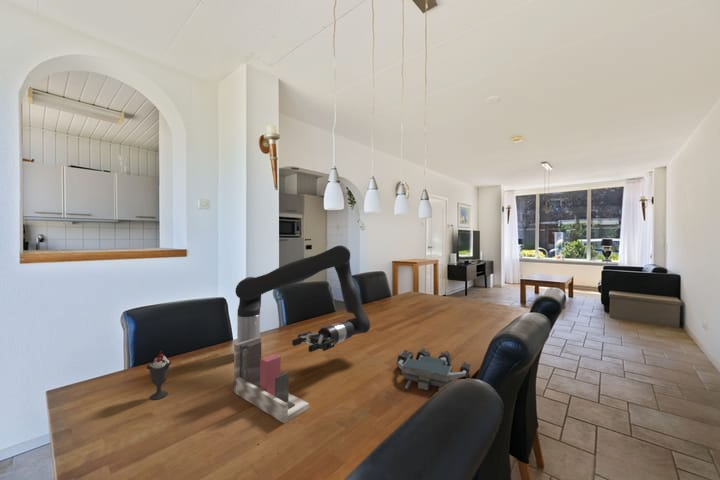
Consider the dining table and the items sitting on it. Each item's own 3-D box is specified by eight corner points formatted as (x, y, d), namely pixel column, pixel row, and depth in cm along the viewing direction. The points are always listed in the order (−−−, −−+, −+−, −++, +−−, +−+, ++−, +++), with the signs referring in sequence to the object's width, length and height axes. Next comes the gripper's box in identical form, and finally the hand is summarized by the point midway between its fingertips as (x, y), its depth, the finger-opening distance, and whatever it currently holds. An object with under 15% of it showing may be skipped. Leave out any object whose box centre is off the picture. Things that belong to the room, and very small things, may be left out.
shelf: (233, 392, 98) (234, 342, 98) (258, 381, 105) (258, 335, 105) (284, 423, 82) (284, 364, 82) (308, 408, 90) (309, 354, 89)
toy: (472, 355, 121) (470, 376, 94) (470, 377, 120) (468, 405, 93) (406, 342, 132) (387, 359, 104) (404, 362, 131) (384, 384, 103)
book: (260, 396, 93) (260, 358, 93) (274, 390, 97) (274, 353, 97) (266, 400, 91) (266, 361, 90) (280, 394, 95) (281, 356, 95)
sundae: (159, 402, 92) (159, 354, 91) (141, 399, 93) (141, 352, 93) (176, 391, 98) (176, 346, 98) (159, 389, 99) (159, 344, 99)
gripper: (320, 321, 121) (288, 330, 108) (346, 329, 112) (315, 340, 99) (319, 340, 121) (287, 351, 108) (346, 348, 112) (314, 362, 100)
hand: (300, 346), depth 104 cm, fingers open, 8 cm apart
